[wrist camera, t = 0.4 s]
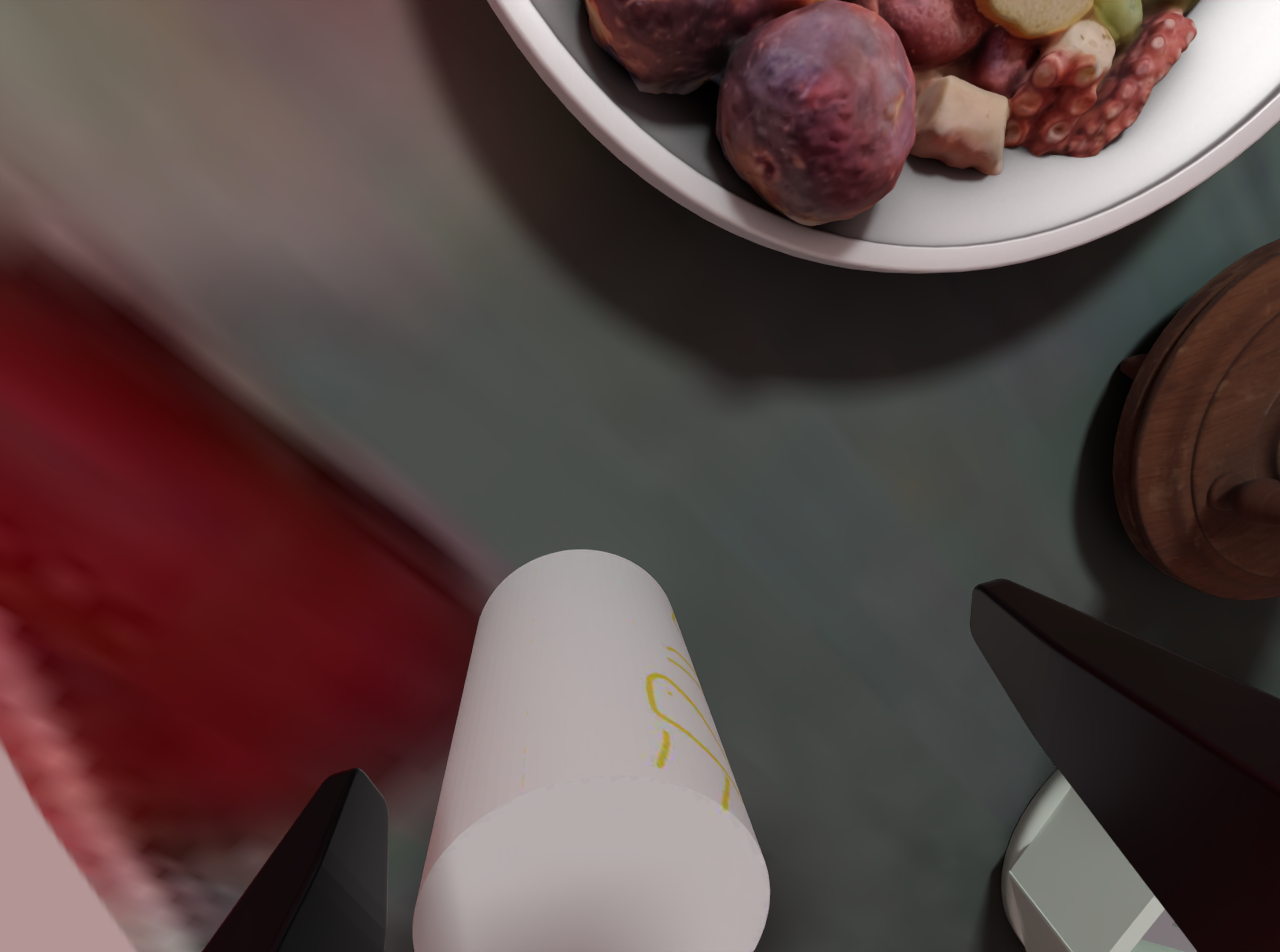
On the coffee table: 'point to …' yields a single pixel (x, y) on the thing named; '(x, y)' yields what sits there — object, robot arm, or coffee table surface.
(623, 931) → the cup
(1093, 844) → the octagonal white bin
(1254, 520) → the scroll
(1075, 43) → the bowl
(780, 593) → the coffee table surface
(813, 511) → the coffee table surface
